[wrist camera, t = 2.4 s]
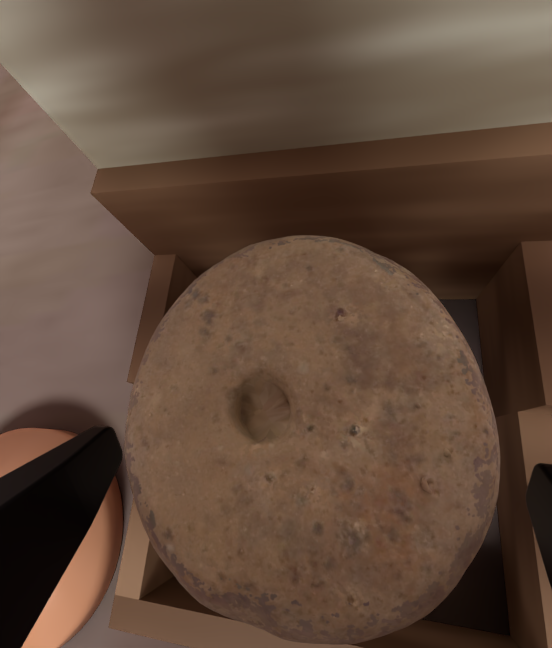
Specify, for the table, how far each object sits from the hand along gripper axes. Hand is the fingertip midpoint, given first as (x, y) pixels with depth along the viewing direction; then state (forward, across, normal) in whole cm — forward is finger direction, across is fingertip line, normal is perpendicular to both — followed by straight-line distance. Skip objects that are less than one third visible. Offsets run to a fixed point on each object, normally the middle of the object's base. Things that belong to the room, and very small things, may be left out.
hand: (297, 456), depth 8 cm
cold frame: (+7, 0, +6) cm, 9 cm away
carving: (+7, 0, +6) cm, 9 cm away
